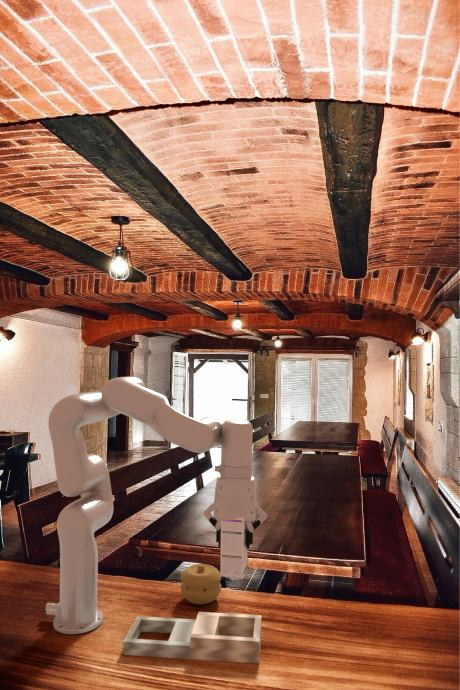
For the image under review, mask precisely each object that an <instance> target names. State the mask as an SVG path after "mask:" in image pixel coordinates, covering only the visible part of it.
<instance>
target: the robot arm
mask: <svg viewBox="0 0 460 690" xmlns="http://www.w3.org/2000/svg"><path fill="white" fill-rule="evenodd" d="M120 414H122V415H124V416H126V417H128V418H131V419H133V420H135V421H137V422H140V423H142V424H144V425H146V426H149V428H151V429H152V430H153V431H154V432H155V433H157V434H158V435H159V436H160V437H161V438H163V439H164V440H166V441H167V442H169V443H171V444H173V445H175V446H178V447H180V448H182V449H184V450H187V451H189V452H193V453H197V454H202V453H205V452H206V453H207V452H208V451H209V450H212V449H214V448H216V447H221V448H220V449H221V451H220V464H219V465H215V466H214V472H217V473H219V475H218V476H217V478H216V481H215V488H214V489H215V490H214V497H213V500H214V501H213V502H212V503H211V504H210V505H209V506H208V507H207V508H206V509H204V511H203V513H202V514H203V516H204V517H205V518H206V519H207V521H208V522H209V523H210V524H211V525H212V526H213V528H214V529H215V530H216V532H215V542H216V543H218V544H217V545H218V548H221V520H234V519H235V518H239V517H242V518H244V522H246V524H247V527H248V529H247V543H246V548H247V549H248V550H250V547H251V545H253V542H254V532H255V530H256V529H257V528H258V527H260V526H261V524H262V523H264V521H266V520H267V518H268V514H267V513H266V512H265V511H264V510H263V509H262V507H261V506H260V505H259V504H258V503H257V491H256V490H257V488H256V487H257V486H256V481H255V477H254V476H253V475H252V474H253V473H252V470H253V465H252V464H253V432H254V428H253V424H252V423H251V422H250V421H248V420H245V419H244V420H243V419H231V420H230V419H224V418H221V417H213V416H207V417H204V418H200V419H196V418H193V417H190V416H188V415H186V414H184V413H182V412H180V411H177V409H174V407H172V406H171V405H170V403H169V400H168V398H167V396H166V395H163V394H162V393H159V392H156V391H154V390H152V389H150V388H147V386H146V385H145V382H143V381H142V379H140V378H138V377H135V376H120V377H117V376H116V377H114V378H111V379H109V380H108V381H107V382H105V384H104V385H103V386H102V388H101V389H98V390H96V391H90V392H78V393H74V394H70V395H67V396H64V397H63V398H61V399H60V400H58V401H57V402H56V403H55V404H54V405H53V407H52V409H51V410H50V413H49V416H48V425H47V426H48V431H49V435H50V440H51V444H52V451H53V461H54V468H55V474H56V475H55V476H56V484H57V487H58V490H59V492H60V493H61V495H63V496H65V497H67V498H70V497H71V498H72V497H73V498H74V497H78V496H80V498H78V499H76V500H74V501H73V502H70V503H69V504H68V505H66V506H65V507H63V508H62V510H61V511H60V513H59V514H58V518H57V520H56V528H57V534H58V535H57V536H58V540H59V554H60V555H59V564H60V567H59V602H58V603H54V602H53V603H51V602H47V603H46V604H45V611H46V612H45V614H46V615H47V616H54V618H53V623H52V626H53V629H54V630H55V631H57V632H58V633H61V634H64V635H79V634H86V633H88V632H90V631H93V630H95V629H96V628H98V627H99V626H100V625H102V623H103V620H104V613H103V611H102V610H100V609H99V608H98V580H99V579H98V578H99V577H98V574H99V572H98V571H99V570H98V569H99V568H98V567H99V564H98V563H99V562H98V561H99V559H98V558H99V556H98V555H99V550H98V545H97V542H96V538H95V532H97V530H99V529H101V528H103V527H104V526H105V525H106V524H108V523H109V522H110V520H111V519H112V517H113V514H114V500H113V494H112V485H111V478H110V472H109V468H108V465H107V464H106V461H105V460H104V459H103V458H102V457H100V456H99V455H97V454H93V453H91V454H89V453H88V449H87V442H86V439H85V436H84V434H83V432H82V430H81V429H80V428H81V427H83V426H85V425H89V424H90V425H91V424H95V423H99V422H102V421H105V420H108V419H111V418H113V417H115V416H118V415H120ZM212 512H213V514H212ZM257 515H258V518H256V516H257Z"/></svg>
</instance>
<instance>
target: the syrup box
mask: <svg viewBox="0 0 460 690" xmlns="http://www.w3.org/2000/svg"><path fill="white" fill-rule="evenodd" d="M247 529H248V527H247V524H246V522H244V518H242V517H239V518H235V519H234V520H221V547H220V562H219V563H220V565H219V566H220V567H219V568H220V571H219V572H220V575H221V577H224V578H230V579H241V580H243V579H244V577H245V575H246V573H247V572H248V566H249V565H248V556H249V555H248V550H249V549H247V548H246V543H247Z"/></svg>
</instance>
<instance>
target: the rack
mask: <svg viewBox="0 0 460 690" xmlns="http://www.w3.org/2000/svg"><path fill="white" fill-rule="evenodd" d="M141 632H144V633H145V632H147V633H148V632H149V633H164V634H165V633H166V634H170V636H169V638H168V640H158V639H143V638H140V639H139V636H140V635H141ZM261 645H262V615H261V614H248V613H247V614H245V613H244V614H243V613H242V614H241V613H229V612H228V613H226V612H209V611H198V613H197V616H196V618H194V619H193V618H192V619H191V618H175V617H174V618H173V617H157V616H155V617H154V616H142V615H137V616H136V618H135V619H134V621H133V623H132V625H131V627H130V628H129V630H128V632H127V634H126V636H125V637H124V639H123V641H122V655H123V654H124V656H135V657H137V656H138V657H139V656H140V657H150V658H151V657H152V658H153V657H155V658H165V659H166V658H169V659H182V660H183V659H185V660H198V661H199V660H200V661H212V662H213V661H215V662H230V663H246V664H256V665H257V664H260V661H261V660H260V656H261Z"/></svg>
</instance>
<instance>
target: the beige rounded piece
mask: <svg viewBox="0 0 460 690" xmlns="http://www.w3.org/2000/svg"><path fill="white" fill-rule="evenodd" d="M221 580H222V576H221V575H220V571H219V570H218V568H217V567H215V566H213V565H211V564H207V563H197V564H192V565H190V566H188V567H187V568H185V569H184V570H183V571H182V573H181V575H180V581H181V585H180V592H181V594H182V596H183V598H184V599H185V600H186V601H188V602H189V603H191V604H192V605H206V604H207V605H208V604H210V603H212V602H213V601H215V600H217V597H218V596H219V595H220V593H221V591H222V584H221V583H220V582H221Z"/></svg>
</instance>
